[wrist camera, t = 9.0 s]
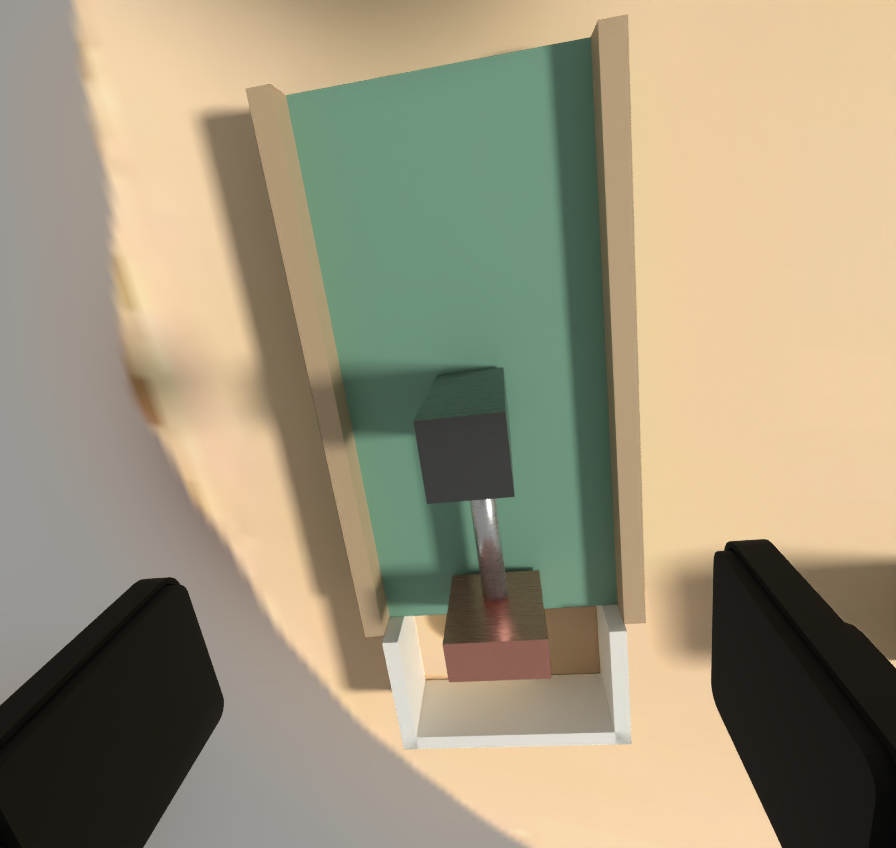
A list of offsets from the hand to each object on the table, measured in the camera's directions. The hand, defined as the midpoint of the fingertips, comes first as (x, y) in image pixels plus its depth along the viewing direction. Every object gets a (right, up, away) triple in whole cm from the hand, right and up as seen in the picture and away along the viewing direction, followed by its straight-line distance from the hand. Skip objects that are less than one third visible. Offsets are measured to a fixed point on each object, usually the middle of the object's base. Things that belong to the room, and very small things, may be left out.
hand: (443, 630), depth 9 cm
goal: (+4, -9, +21) cm, 23 cm away
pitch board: (+1, +6, +17) cm, 18 cm away
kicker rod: (+2, 0, +16) cm, 16 cm away
